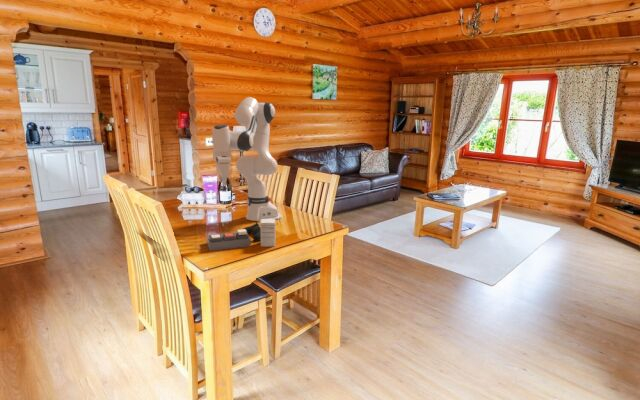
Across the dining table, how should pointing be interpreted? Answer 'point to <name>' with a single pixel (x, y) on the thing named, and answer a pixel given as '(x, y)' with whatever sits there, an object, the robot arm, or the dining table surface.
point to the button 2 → (242, 231)
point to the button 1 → (215, 236)
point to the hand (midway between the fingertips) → (223, 183)
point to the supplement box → (267, 232)
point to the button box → (228, 241)
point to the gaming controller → (254, 231)
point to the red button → (229, 235)
